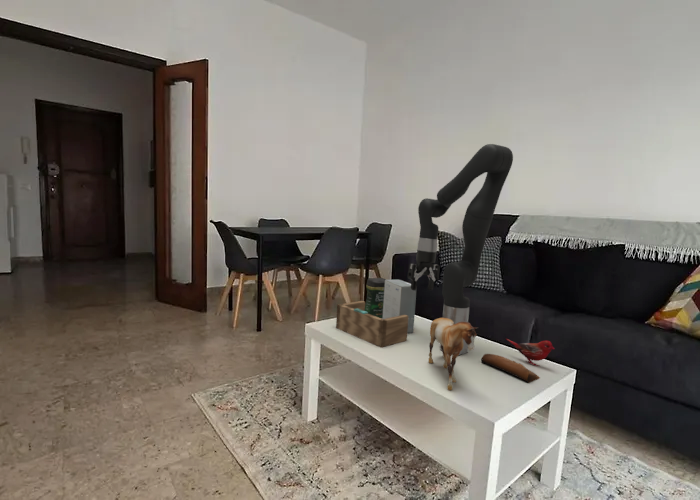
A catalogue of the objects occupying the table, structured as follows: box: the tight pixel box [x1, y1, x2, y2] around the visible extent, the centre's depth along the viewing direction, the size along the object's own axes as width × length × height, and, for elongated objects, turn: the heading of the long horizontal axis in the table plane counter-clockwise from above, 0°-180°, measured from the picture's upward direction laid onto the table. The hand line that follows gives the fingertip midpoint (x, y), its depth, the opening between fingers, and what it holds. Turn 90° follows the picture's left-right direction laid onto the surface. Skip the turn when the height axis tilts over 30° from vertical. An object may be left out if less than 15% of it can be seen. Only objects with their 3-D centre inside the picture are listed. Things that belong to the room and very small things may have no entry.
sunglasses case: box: [480, 353, 541, 384], centre depth 134 cm, size 18×7×7 cm, turn 33°
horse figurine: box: [428, 317, 479, 391], centre depth 127 cm, size 31×8×21 cm, turn 2°
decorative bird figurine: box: [505, 338, 555, 367], centre depth 142 cm, size 3×18×10 cm, turn 39°
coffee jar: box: [365, 277, 387, 319], centre depth 188 cm, size 10×8×19 cm
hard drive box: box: [381, 279, 418, 334], centre depth 173 cm, size 16×8×20 cm, turn 22°
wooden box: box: [335, 300, 408, 348], centre depth 163 cm, size 27×14×11 cm, turn 40°
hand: (422, 290), depth 161 cm, fingers open, 8 cm apart
